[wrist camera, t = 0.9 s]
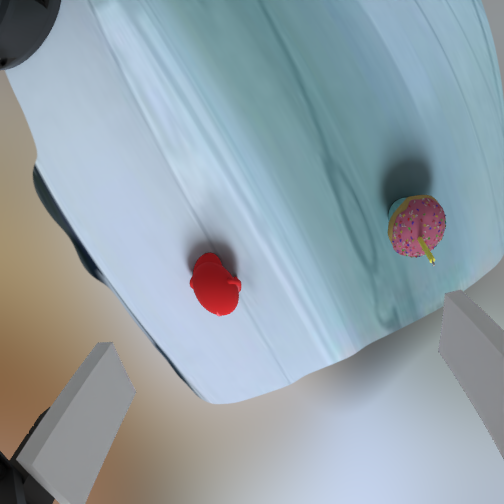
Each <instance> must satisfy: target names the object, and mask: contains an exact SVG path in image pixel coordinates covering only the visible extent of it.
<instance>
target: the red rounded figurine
mask: <svg viewBox="0 0 504 504" xmlns="http://www.w3.org/2000/svg"><path fill="white" fill-rule="evenodd" d="M190 286H191V288H192V289H194V293H195V295H196V297H197V299H198V301H199V302H200V303H201V305H202V306H203V307H204V308H205V309H207V310H208V311H209V312H211V313H213V314H216V315H217V316H222V315H227V314H230V313H231V312H232V311H234V309H235V308H236V306H237V304H238V300H239V292H240V291H241V281H240V280H239V279H238V278H237V277H236V276H235V277H234V278H233V277H232V275H231V274H230V273H229V272H228V271H227V270H226V269H225V268H224V267H223V266H222V264H221V261H220V259H219V258H218V256H216V255H215V254H213V253H205V254H203V255H202V256H201V257H200V258H199V259H198V260H197V262H196V264H195V266H194V270H193V276H192V278H191V280H190Z"/></svg>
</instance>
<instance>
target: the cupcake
mask: <svg viewBox="0 0 504 504" xmlns="http://www.w3.org/2000/svg"><path fill="white" fill-rule="evenodd" d="M445 216H446V215H445V214H444V211H443V208H442V207H441V205H440V204H439V203H438V202H437V200H436V199H435V198H433V197H432V196H429V195H416V196H410V197H407V198H401V199H398V200H397V201H395V202H394V203H393V205H392V206H391V208H390V210H389V214H388V219H389V225H388V236H389V239H390V241H391V243H392V245H393V248H394V250H395V251H396V252H397V253H399V254H400V255H404V256H410V257H416V258H417V257H420V256H423V255H425V254H426V256H427V257H428V259H429V261H430V262H431V263H432V264H433V266H434V265H435V264H434V261H435V259H434V257H433V255H432V253H431V252H430V251H431V250H432V249H434V247H436V246H437V244H438V243H439V242H440V240H442V237H443V236H444V235H443V233H444V230H445V227H446V225H445V224H446V218H445Z"/></svg>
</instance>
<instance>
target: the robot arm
mask: <svg viewBox="0 0 504 504" xmlns="http://www.w3.org/2000/svg"><path fill="white" fill-rule="evenodd" d="M60 2H61V0H0V70H6V69H10V68H13V67H15V66H17V65H19V64H21V63H23V62H24V61H25V60H27V59H28V58H29V57H30V56H31V55H33V54H34V53H35V52H36V50H37V49H38V48H39V47H40V46H41V45H42V43H43V42H44V40H45V39H46V37H47V36H48V34H49V33H50V31H51V29H52V27H53V25H54V23H55V20H56V18H57V15H58V11H59V7H60ZM438 352H439V353H440V355H441V356H442V358H443V359H444V360H445V362H446V363H447V365H448V366H449V368H450V370H451V371H452V372H453V374H454V376H455V377H456V379H457V380H458V382H459V384H460V385H461V387H462V388H463V390H464V391H465V393H466V394H467V396H468V398H469V399H470V401H471V403H472V404H473V406H474V407H475V409H476V411H477V413H478V414H479V416H480V418H481V419H482V421H483V423H484V425H485V426H486V428H487V430H488V432H489V433H490V435H491V437H492V439H493V440H494V442H495V444H496V446H497V448H498V449H499V451H500V453H501V455H502V457H503V459H504V330H503V329H502V328H501V327H500V326H499V325H497V324H496V323H495V321H494V320H493V319H491V317H490V316H488V315H487V314H486V313H485V312H484V311H483V310H482V309H481V308H480V307H479V306H478V305H477V304H476V303H475V302H474V301H473V300H472V299H471V298H470V297H468V296H467V295H466V294H465V293H464V292H463V291H462V290H457V291H453V292H449V293H445V300H444V310H443V320H442V328H441V336H440V343H439V350H438ZM135 393H136V391H135V389H134V387H133V385H132V383H131V381H130V379H129V377H128V375H127V373H126V370H125V368H124V366H123V364H122V362H121V360H120V358H119V356H118V353H117V351H116V349H115V347H114V345H113V342H103V343H97V344H96V346H95V347H94V348H93V350H92V351H91V352H90V354H89V355H88V356H87V358H86V359H85V360H84V362H83V363H82V364H81V366H80V367H79V368H78V370H77V371H76V372H75V374H74V375H73V377H72V378H71V379H70V381H69V382H68V384H67V385H66V386H65V388H64V389H63V390H62V392H61V393H60V395H59V396H58V397H57V399H56V400H55V402H54V403H53V405H52V406H51V407H49V408H48V409H47V410H46V411H44V412H43V413H42V414H41V415H40V416H39V418H38V419H37V420H36V422H35V423H34V426H32V428H31V429H30V431H29V434H27V435H26V436H25V438H24V440H23V441H22V442H21V444H20V445H19V447H18V449H17V450H16V452H15V453H14V455H13V456H12V458H11V459H10V460H8V459H7V458H6V457H5V456H4V455H3V453H2V452H1V451H0V504H52V503H53V501H54V499H56V500H57V501H58V502H59V503H60V504H85V503H86V500H87V498H88V496H89V493H90V491H91V489H92V487H93V484H94V482H95V480H96V477H97V475H98V473H99V471H100V468H101V466H102V464H103V462H104V459H105V457H106V455H107V453H108V451H109V448H110V446H111V444H112V442H113V440H114V438H115V436H116V433H117V431H118V429H119V427H120V425H121V423H122V421H123V418H124V416H125V414H126V412H127V410H128V408H129V406H130V404H131V402H132V400H133V398H134V396H135Z"/></svg>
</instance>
